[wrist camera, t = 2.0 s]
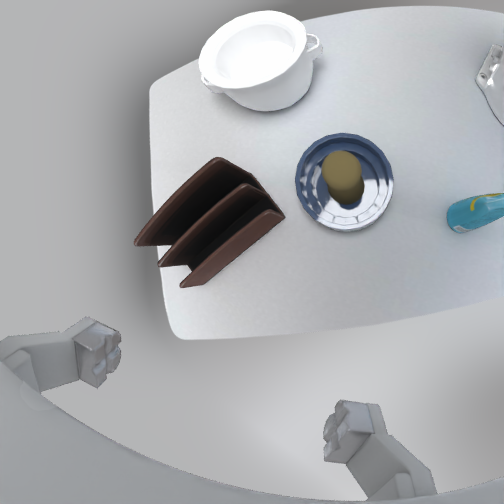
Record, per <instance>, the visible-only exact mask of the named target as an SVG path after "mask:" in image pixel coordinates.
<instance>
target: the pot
mask: <svg viewBox="0 0 504 504" xmlns="http://www.w3.org/2000/svg"><path fill="white" fill-rule="evenodd" d="M307 43H316V44H317V45H315V46H314V47H312V48H310V49H309V48H308V47H307V46H306V44H307ZM322 50H323V48H322V45H321V43H320V40H319V39H318V38H317V37H316V35H313V34H306V31H305V27H304V26H303V25H302V24H301V23H300V22H299V21H298V20H296V19H295V18H293V17H291V16H289V15H287V14H284V13H281V12H275V11H260V12H253V13H249V14H246V15H243V16H240V17H238V18H235V19H233V20H232V21H230V22H228V23H227V24H225V25H224V26H222V27H221V28H219V29H218V30H217V31H216V32H215V33H214V34H213V35H212V36H211V37H210V38H209V39H208V41H207V42H206V44H205V45H204V47H203V48H202V51H201V54H200V58H199V67H200V71H201V73H202V75H201V78H202V82H203V83H204V84H205V85H206V87H207V88H208V89H209V90H210V91H212V92H213V93H217V94H220V93H226V94H227V95H228V96H229V97H231V98H232V99H233V100H234V101H236V102H237V103H238V104H240V105H242V106H245V107H247V108H250V109H253V110H258V111H274V110H279V109H283V108H287V107H290V106H291V105H292V104H294V103H295V102H297V101H298V100H300V98H301V97H302V96H303V95H304V94H305V93H306V92H307V91H308V89H309V86H310V84H311V80H312V73H313V60H314V59H316V58H317V57H318V56H320V55H321V54H322ZM209 82H210V83H209Z"/></svg>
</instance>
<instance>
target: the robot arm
mask: <svg viewBox="0 0 504 504" xmlns="http://www.w3.org/2000/svg"><path fill="white" fill-rule="evenodd" d="M482 77H483V78H484V79H483V78H482ZM475 80H476V83H477V84H478V86H479V87H480V88H481V90H482V91H483V92H484V94H485V96H486V98H487V101H488V103H489V105H490V107H491V109H492V111H493V113H494V114H495V116H496V117H497V118H498V120H499V121H500V122H501V123H502V124H503V125H504V46H503V47H502V46H499V45H492V47H491V48H490V50H489V52H488V54H487V57H486V59H485V61H484V63H483V65H482V67H481V69H480V70H479V72H478V74H477V76H476V78H475ZM120 342H121V334H120V333H119V332H118V331H116V330H114V329H112V328H110V327H108V326H106V325H104V324H102V323H100V322H98V321H96V320H94V319H92V318H90V317H85V318H83V319H82V320H80V321H79V322H77V323H76V324H74V325H73V326H71V327H70V328H68V329H67V330H65V331H64V332H62V333H60V332H59V331H58V332H49V333H40V334H29V335H17V336H8V337H6V338H5V339H3V340H2V341H0V504H504V477H501V478H497V479H494V480H491V481H488V482H485V483H482V484H478V485H474V486H471V487H467V488H463V489H459V490H454V491H450V492H445V493H440V494H437V491H436V488H435V484H434V481H433V477H432V474H431V471H430V470H429V469H428V468H427V467H426V466H425V465H424V464H423V463H421V462H420V461H419V460H418V459H417V458H416V457H415V456H414V455H413V454H412V453H410V452H409V451H408V450H407V449H406V448H405V447H404V446H403V445H402V444H401V443H399V442H398V441H397V440H396V439H395V438H394V437H393V436H392V435H388V433H387V429H386V426H385V422H384V419H383V416H382V412H381V409H380V406H379V405H378V404H370V403H359V402H352V401H346V400H340V401H338V403H337V404H336V406H335V413H333V414H331V415H330V416H329V418H328V419H327V421H326V424H325V427H324V432H323V437H324V438H323V439H324V440H325V441H326V442H327V444H326V445H325V447H324V461H326V462H334V463H343V464H346V466H347V467H348V469H349V470H350V472H351V473H352V475H353V476H354V478H355V479H356V480H357V482H358V484H359V485H360V486H361V488H362V489H363V491H364V492H365V494H366V495H367V497H368V499H367V500H366V501H333V500H317V499H306V498H297V497H289V496H282V495H275V494H269V493H264V492H258V491H253V490H249V489H244V488H240V487H236V486H232V485H228V484H223V483H220V482H216V481H213V480H209V479H206V478H203V477H200V476H197V475H193V474H191V473H187V472H185V471H182V470H179V469H177V468H174V467H171V466H169V465H166V464H163V463H161V462H159V461H156V460H154V459H151V458H149V457H146V456H145V455H142V454H140V453H138V452H136V451H133V450H132V449H129V448H127V447H125V446H123V445H121V444H119V443H117V442H115V441H114V440H112V439H110V438H108V437H106V436H104V435H102V434H100V433H99V432H97V431H95V430H94V429H92V428H90V427H88V426H87V425H85V424H83V423H82V422H80V421H79V420H77V419H75V418H74V417H72V416H71V415H69V414H68V413H66V412H65V411H63V410H62V409H60V408H59V407H57V406H56V405H54V404H53V403H52V402H50V401H49V400H48V399H46V398H45V397H43V396H42V395H41V392H42V391H45V390H48V389H52V388H55V387H58V386H61V385H64V384H68V383H71V382H74V381H77V380H79V379H81V380H82V381H84V382H86V383H88V384H90V385H92V386H93V387H95V388H98V387H99V386H100V385H101V384H102V383H103V382H104V381H105V380H106V379H107V377H106V374H108V373H112V372H114V370H115V369H116V368H117V366H118V364H119V362H120V358H121V350H120V348H119V346H118V344H119V343H120Z"/></svg>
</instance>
